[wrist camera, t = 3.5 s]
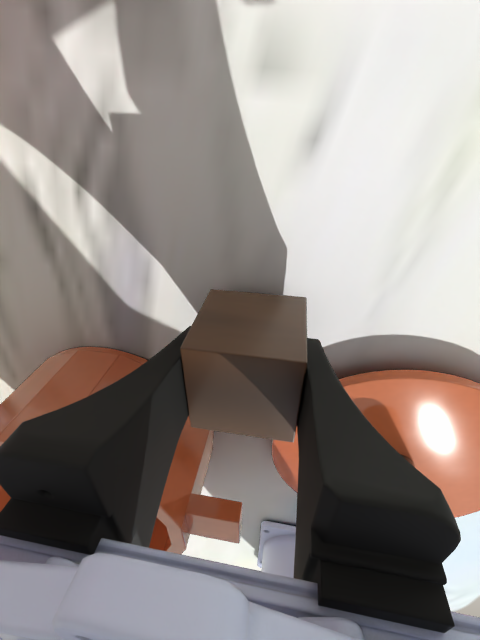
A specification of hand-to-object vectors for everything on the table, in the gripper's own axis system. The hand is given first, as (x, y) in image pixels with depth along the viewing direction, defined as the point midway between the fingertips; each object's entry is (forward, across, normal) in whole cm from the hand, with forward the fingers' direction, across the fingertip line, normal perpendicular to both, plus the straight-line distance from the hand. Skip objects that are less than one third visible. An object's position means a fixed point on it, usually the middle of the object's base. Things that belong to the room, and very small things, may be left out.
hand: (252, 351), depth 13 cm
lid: (+2, -8, +8) cm, 12 cm away
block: (+1, 0, 0) cm, 1 cm away
